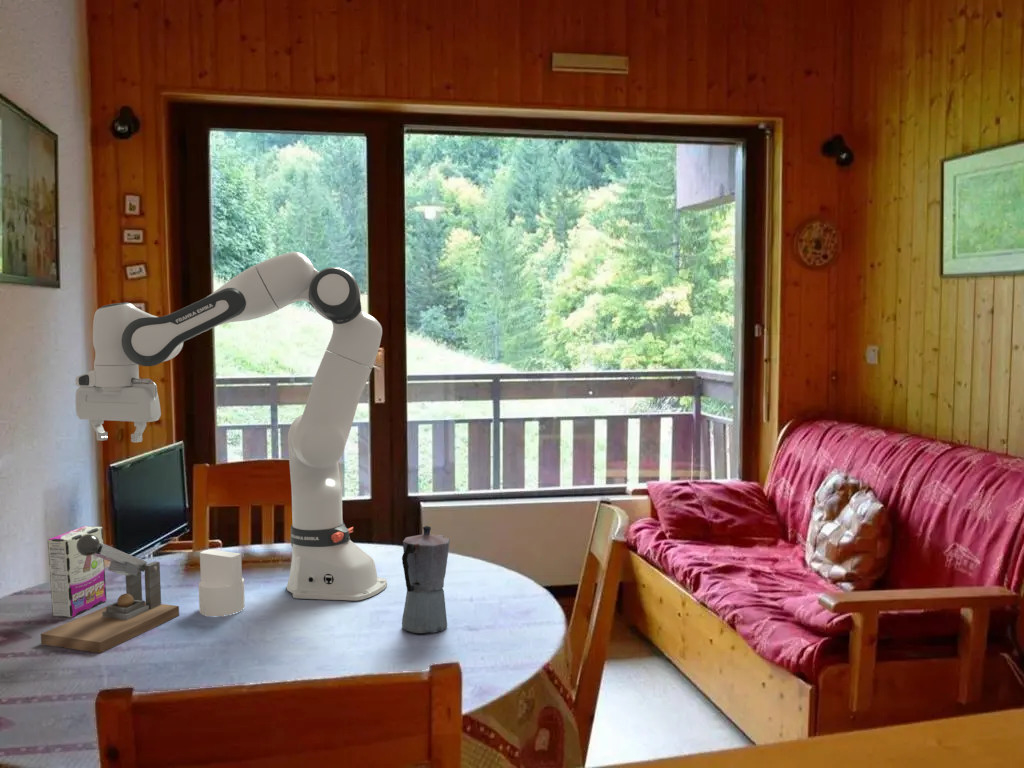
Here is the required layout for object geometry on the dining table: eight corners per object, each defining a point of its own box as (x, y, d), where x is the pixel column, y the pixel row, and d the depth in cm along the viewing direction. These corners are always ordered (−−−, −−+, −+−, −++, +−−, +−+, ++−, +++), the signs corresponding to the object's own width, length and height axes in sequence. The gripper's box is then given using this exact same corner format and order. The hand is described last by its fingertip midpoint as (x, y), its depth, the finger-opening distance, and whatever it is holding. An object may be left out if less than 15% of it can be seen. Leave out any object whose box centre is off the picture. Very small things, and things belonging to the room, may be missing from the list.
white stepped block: (253, 605, 185) (252, 550, 184) (223, 619, 177) (221, 561, 176) (221, 600, 189) (219, 545, 188) (189, 613, 181) (187, 556, 180)
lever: (143, 579, 176) (150, 557, 178) (84, 556, 162) (93, 532, 164) (127, 577, 177) (134, 555, 179) (67, 554, 163) (76, 530, 165)
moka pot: (462, 618, 177) (461, 520, 175) (430, 645, 162) (429, 539, 161) (419, 613, 180) (418, 517, 178) (384, 639, 165) (382, 535, 164)
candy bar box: (86, 599, 190) (83, 525, 188) (107, 601, 189) (104, 526, 187) (49, 617, 179) (46, 538, 177) (71, 618, 178) (67, 539, 176)
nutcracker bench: (179, 615, 179) (177, 563, 178) (100, 653, 159) (97, 594, 158) (124, 608, 184) (122, 557, 183) (41, 644, 164) (38, 586, 163)
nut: (137, 607, 175) (136, 592, 175) (126, 611, 173) (125, 597, 172) (125, 605, 176) (124, 590, 176) (114, 610, 174) (113, 595, 173)
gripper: (166, 377, 189) (168, 441, 190) (91, 376, 196) (94, 437, 197) (145, 379, 183) (147, 445, 184) (69, 378, 190) (71, 441, 191)
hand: (119, 441), depth 191 cm, fingers open, 8 cm apart
